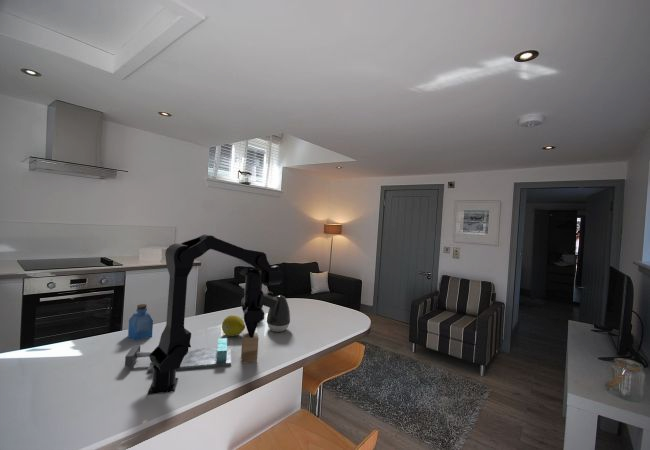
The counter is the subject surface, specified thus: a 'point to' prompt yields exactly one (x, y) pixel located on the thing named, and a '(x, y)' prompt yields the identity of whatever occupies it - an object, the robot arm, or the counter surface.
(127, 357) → the vise jaw
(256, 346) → the walnut block
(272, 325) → the pump dispenser
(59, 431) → the counter surface
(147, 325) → the perfume bottle
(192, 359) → the vise
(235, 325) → the lemon
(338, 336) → the counter surface
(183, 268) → the robot arm
